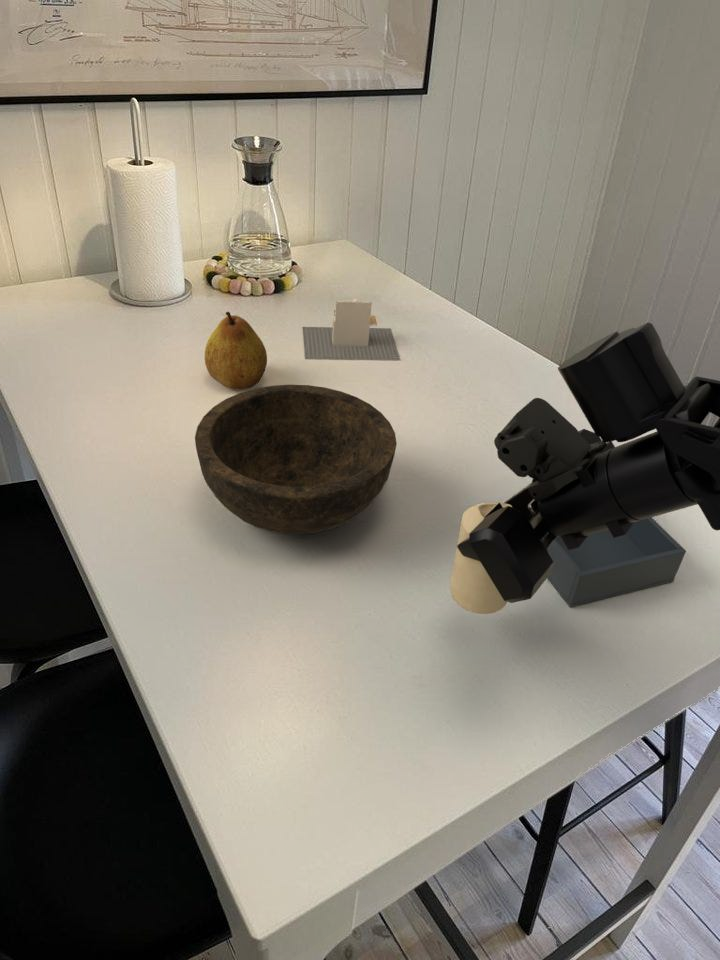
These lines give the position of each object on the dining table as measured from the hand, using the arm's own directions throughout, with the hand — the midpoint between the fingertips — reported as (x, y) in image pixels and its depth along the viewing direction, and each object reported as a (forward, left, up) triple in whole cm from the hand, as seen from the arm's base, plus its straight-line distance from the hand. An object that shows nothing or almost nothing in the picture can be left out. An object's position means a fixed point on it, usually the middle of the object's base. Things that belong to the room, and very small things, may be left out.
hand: (477, 533), depth 67 cm
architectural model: (+42, -45, -12) cm, 62 cm away
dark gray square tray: (-7, -19, -12) cm, 23 cm away
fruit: (+48, -24, -12) cm, 55 cm away
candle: (-1, 0, -7) cm, 7 cm away
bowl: (+24, -6, -12) cm, 28 cm away
